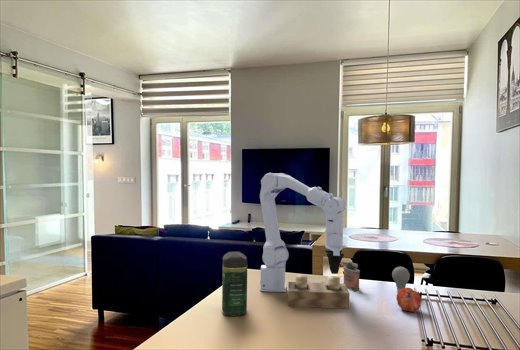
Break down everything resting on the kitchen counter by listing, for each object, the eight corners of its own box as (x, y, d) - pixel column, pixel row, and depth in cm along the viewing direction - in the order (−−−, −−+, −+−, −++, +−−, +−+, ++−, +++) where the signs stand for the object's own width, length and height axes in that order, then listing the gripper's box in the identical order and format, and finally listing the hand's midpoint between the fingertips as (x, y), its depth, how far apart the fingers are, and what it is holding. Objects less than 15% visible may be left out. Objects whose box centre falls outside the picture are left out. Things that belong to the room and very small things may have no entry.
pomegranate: (395, 311, 119) (391, 301, 112) (401, 291, 122) (397, 280, 115) (419, 319, 115) (416, 309, 108) (424, 298, 118) (422, 286, 111)
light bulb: (410, 293, 130) (411, 266, 130) (407, 298, 125) (408, 270, 125) (393, 290, 134) (394, 264, 134) (390, 294, 129) (390, 267, 129)
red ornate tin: (341, 285, 139) (341, 260, 139) (347, 284, 140) (348, 259, 140) (354, 291, 132) (354, 265, 132) (361, 290, 133) (362, 264, 133)
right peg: (328, 293, 119) (328, 279, 119) (327, 289, 123) (327, 275, 123) (340, 294, 119) (340, 279, 119) (338, 290, 123) (339, 276, 123)
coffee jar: (248, 316, 109) (248, 256, 109) (222, 317, 108) (223, 257, 107) (245, 304, 118) (245, 249, 118) (221, 306, 117) (221, 250, 117)
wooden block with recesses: (288, 306, 117) (288, 291, 117) (288, 295, 127) (288, 281, 127) (349, 308, 116) (349, 293, 116) (344, 297, 126) (345, 283, 125)
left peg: (295, 292, 120) (295, 278, 120) (295, 288, 124) (295, 274, 124) (307, 292, 120) (307, 278, 120) (307, 289, 124) (307, 275, 124)
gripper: (349, 236, 113) (349, 278, 113) (343, 229, 128) (342, 266, 128) (327, 236, 114) (326, 278, 114) (323, 228, 128) (323, 266, 128)
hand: (333, 272), depth 121 cm, fingers open, 3 cm apart
